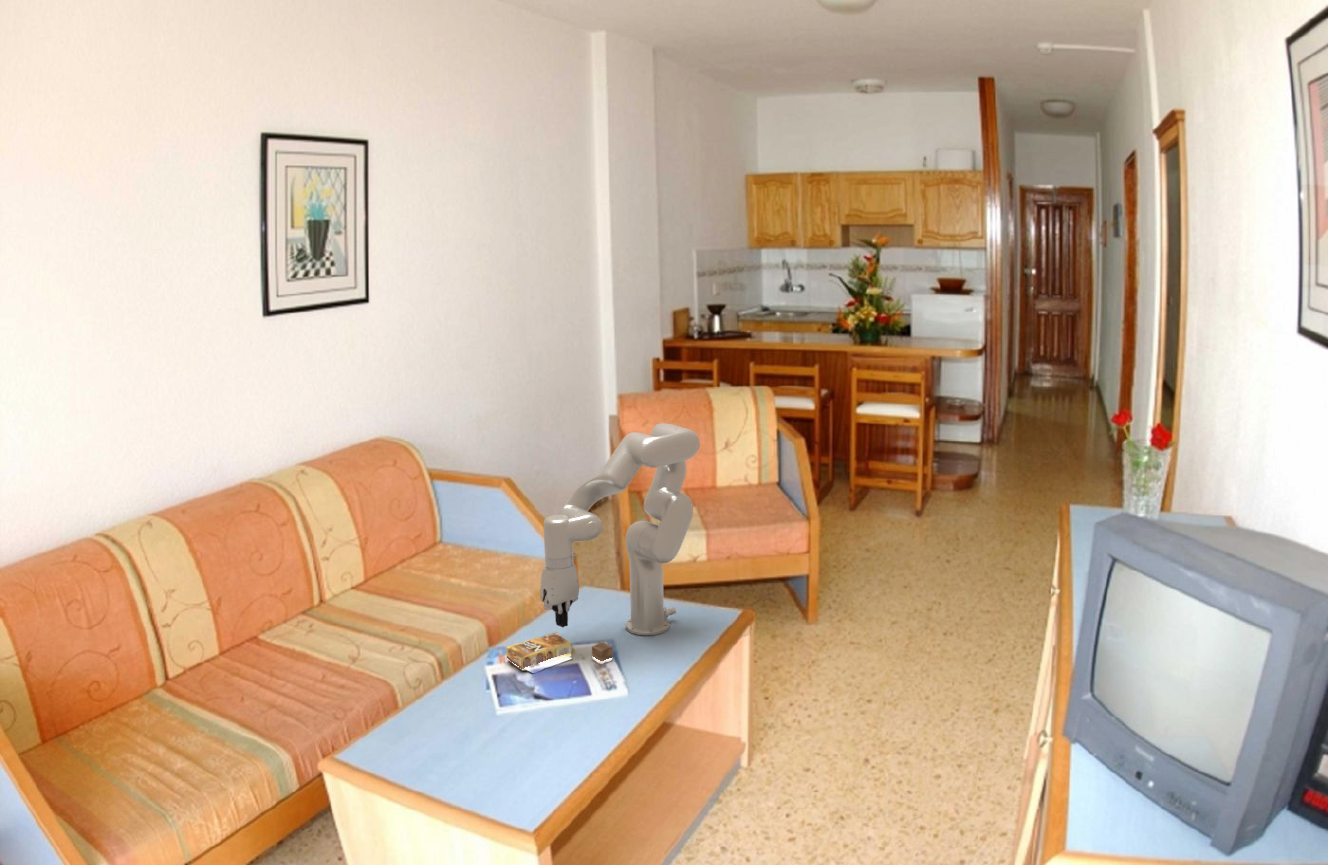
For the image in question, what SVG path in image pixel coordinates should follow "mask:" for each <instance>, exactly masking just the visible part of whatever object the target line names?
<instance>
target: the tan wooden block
mask: <svg viewBox="0 0 1328 865" xmlns="http://www.w3.org/2000/svg"><path fill="white" fill-rule="evenodd" d="M613 649H614V646H612V645H610V644H608V643H606V642H604V641H603V642H601V643H597V644H594V645H592V646H591V657H592V656H593V657H595V658H596V659H598V660H600V661H604V660H606V659H609V658H612V657H613V658H614V650H613Z"/></svg>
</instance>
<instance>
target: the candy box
mask: <svg viewBox="0 0 1328 865" xmlns="http://www.w3.org/2000/svg"><path fill="white" fill-rule="evenodd" d="M505 649H506V653H505V654H506V659H507V658H508V659H509V660H510V661H511V662H513V663H514V664H516V665H517V666H519V668H521V669H524V668H525V667H528V666H531V665H533V664H538V663H540V662H543V661H546V660H548V659H551V658H554V657H557V656H560V655H564V654H567V653H571V652H572V642H570V640H568V639H566V638H565V637H563V636H562V635H560V634H558V633H557V632H552V633H549V634H546V635H541V636H538V637H535V638H531V639H528V640H525V641H522V642H518V643H515V644H511V645H508V646H505ZM511 662H510V663H511ZM519 668H518V669H519Z"/></svg>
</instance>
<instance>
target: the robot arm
mask: <svg viewBox="0 0 1328 865" xmlns="http://www.w3.org/2000/svg"><path fill="white" fill-rule="evenodd" d="M700 443H701V442H700V438H699V436H698V434H697V433H696V432H695V431H693V430H692V429H689V428H685V427H683V426H679V425H675V424H672V423H666V422H662V423H657V424H655V425H654V426H653V427H652V430H651V432H650V435H649V434H647V433H642V432H635V431H634V432H633V431H632V432H629V433H628V434H626V435H625V436H624V437H623V438H622V439H621V441H620V442H619V444H618V445H617V447H616V448H615V450H614V451H613V452H612V454H611V456H610V457H609V458H608V460H607V461H606V463H605V464H604V465H603V467H602V469H600V470H599V472H598V473H597V474H595V475H594V476H592V477H591V478H589V479H587V480H586V481H585V482H584V483H582V484H580V486H578V487H577V488H576V489H575V490H574V491H573V492H572V493H571V494H570V496H569V497H568V498H567V501H565V503H564V504H563V506H562V508H561V510H560V512H559V514H552V515H549V516H547V517H546V518H544V520H543V542H544V543H543V544H544V545H543V546H544V562H545V563H544V564H545V566H544V567H542V571H541V575H540V576H541V578H540V588H539V589H540V590H539V591H540V601H541V602H543V609H544V610H547V611H553V612H554V614H555V625H556V626H558V627H561V628H565V627H567V626H568V625H569V624H568V621H569V615H568V614H569V611H571V610H570V608H571V606H572V604H573V603H575V602H576V601H578V599H579V597H578V596H579V594H580V583H579V576H578V570H577V566H576V563H575V562H574V559H575V558H576V557H577V554H576V552H574V546H573V543H574V542H588V541H592V540H595V539H597V538H598V537H599V536H600V535H601V533H602V530H603V522H602V520H601V519H600V517H599V516H598V515H596V514H595V513H592V512H590V511H589V510H590V509H591V507H593V505H595V504H596V503H597V502H598V501H600V500H602V499H603V498H606V497H608V496H609V497H610V496H613V495H617V494H620V493H622V492H624V491H626V489H627V488H628V486H629V485H630V484H631V482H632V480H633V479H634V478H635V476H637V475H636V474H637V473H638V472H639V471H640V470H641V467H643V466H644V467H646V468H650V469H652V468H653V469H654V468H656V470H655V473H654V476H653V479H652V481H651V484H650V486H649V489H648V490H647V494H646V496H645V499H644V503H643V510H644V513H646V515H648V516H649V517H651V518H652V519H654V520H656V521H659V524H656V523H654V522H650V521H647V520H637V521H635V522H633V523H632V524H630V526H629V527H628V528H627V530H626V534H625V547H626V551H627V556H628V562H629V592H630V593H629V594H630V619H628V620H627V621H626V622H625V629H626V631H628V632H629V633H631V634H634V635H638V636H657V635H660V634H663V633H665V632H666V631H668V629H669V628H670V620H668V619H667V618H668V617H669V616H673V615H674V614H677V610H676V608H675V607H674V606H673V607H670V608H667V607H665V606H664V604H665V603H664V601H665V600H664V567H663V564H667V563H670V562H671V561H673V560H674V559H675V558H676V556H678V553H679V552H680V550H681V547H682V545H683V542H684V540H685V538H686V535H687V532H688V530H689V528H690V524H691V522H692V519H693V515H694V505H693V502H692V499H691V498H690V497H689V496H688V495H687V494H685V493H683V492H681V490H682V488H683V485H684V483H685V479H686V477H687V476H686V474H687V463H686V462H687V461H688V460H690V459H692V458H693V457H694V456H695V455H696V454H697V453H698V451H699V449H700Z"/></svg>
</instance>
